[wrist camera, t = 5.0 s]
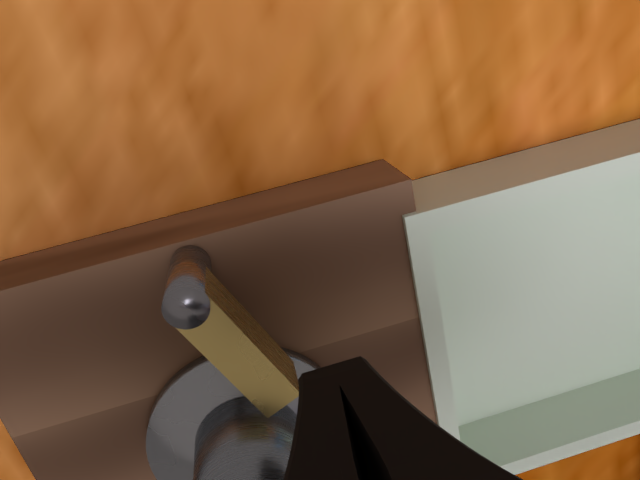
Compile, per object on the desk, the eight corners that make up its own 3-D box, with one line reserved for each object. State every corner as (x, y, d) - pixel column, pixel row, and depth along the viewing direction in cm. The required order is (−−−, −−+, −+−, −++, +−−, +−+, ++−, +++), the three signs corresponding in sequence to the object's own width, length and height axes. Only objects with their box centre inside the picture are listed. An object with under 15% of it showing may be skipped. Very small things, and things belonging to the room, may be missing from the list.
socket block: (435, 454, 21) (462, 506, 18) (129, 552, 20) (117, 621, 17) (383, 159, 16) (411, 179, 14) (-21, 266, 15) (-64, 308, 13)
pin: (340, 414, 19) (397, 584, 13) (188, 462, 19) (176, 662, 13) (304, 279, 17) (353, 410, 11) (131, 330, 16) (84, 495, 10)
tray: (662, 363, 21) (722, 406, 19) (422, 439, 20) (450, 495, 18) (673, 109, 17) (750, 121, 15) (375, 190, 16) (404, 217, 14)
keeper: (288, 343, 15) (302, 397, 12) (260, 363, 15) (268, 421, 12) (193, 237, 13) (189, 277, 11) (161, 261, 13) (150, 306, 11)
